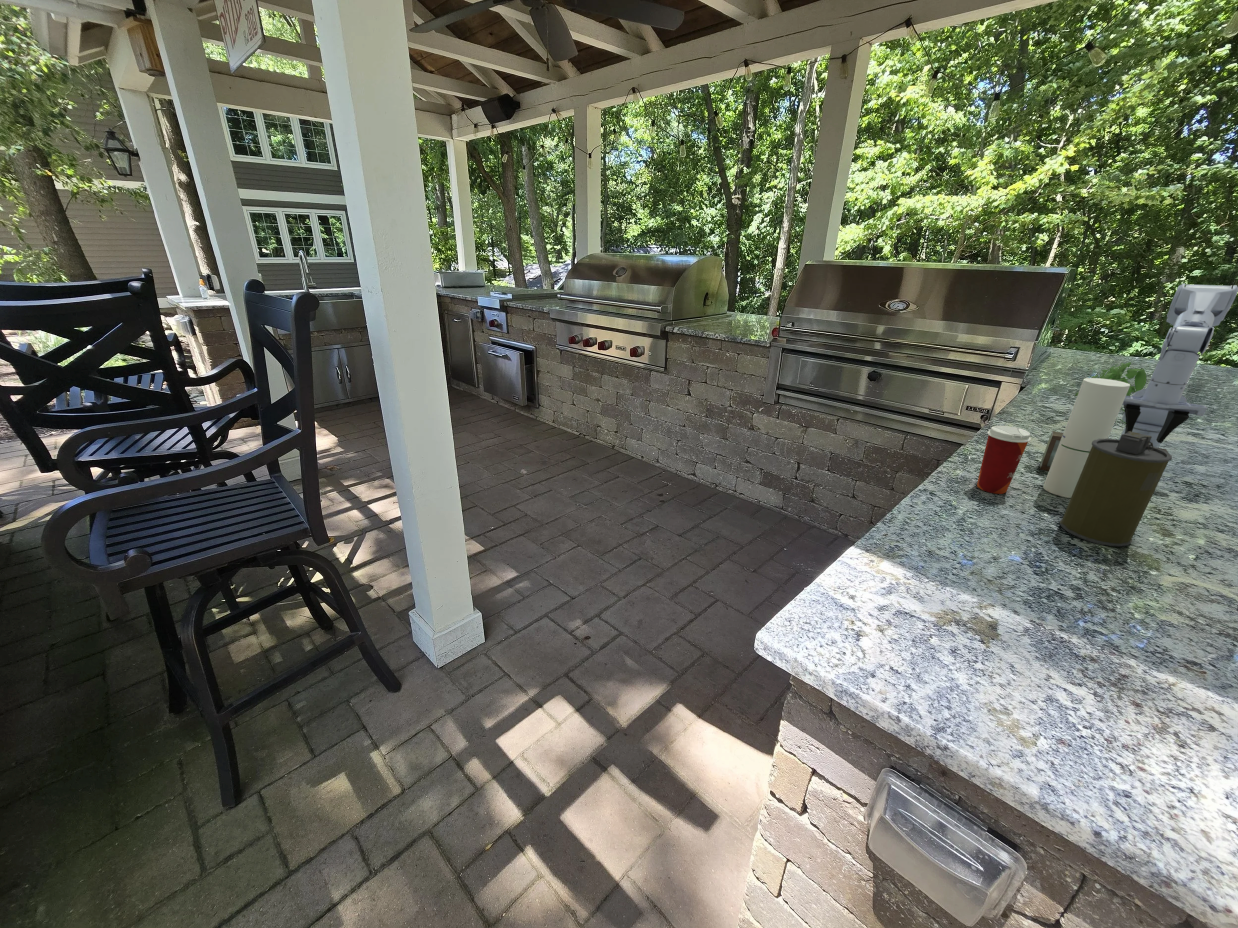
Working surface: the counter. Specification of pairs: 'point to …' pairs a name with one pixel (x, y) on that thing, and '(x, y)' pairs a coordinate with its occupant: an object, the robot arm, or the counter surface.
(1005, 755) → the counter surface
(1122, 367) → the plant cuttings
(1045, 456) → the window frame
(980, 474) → the paper cup
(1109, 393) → the cylindrical container
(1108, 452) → the canister
